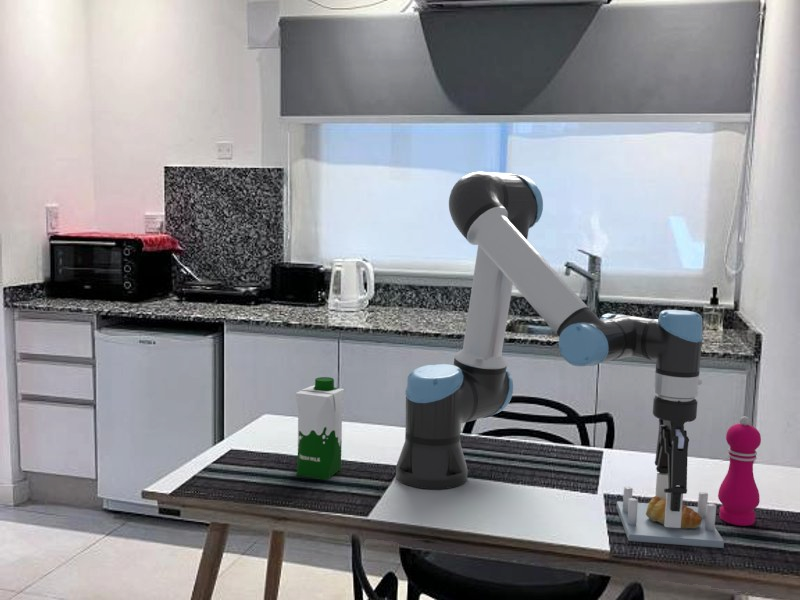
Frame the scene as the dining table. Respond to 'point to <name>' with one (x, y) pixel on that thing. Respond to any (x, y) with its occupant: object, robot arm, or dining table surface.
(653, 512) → the pastry
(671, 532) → the tray
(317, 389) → the milk carton
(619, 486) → the dining table surface
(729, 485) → the pepper mill
